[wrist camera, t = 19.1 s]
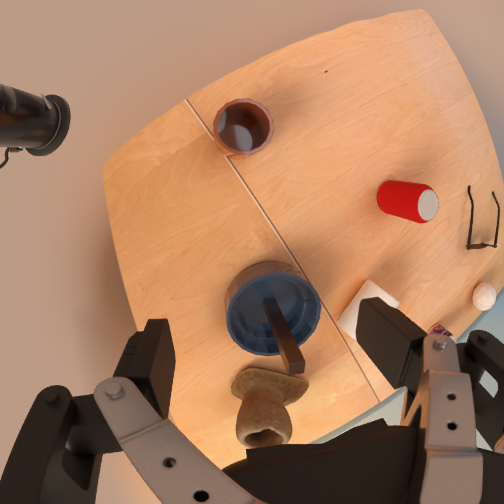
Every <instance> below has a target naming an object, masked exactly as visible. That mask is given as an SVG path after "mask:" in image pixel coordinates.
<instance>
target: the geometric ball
mask: <svg viewBox="0 0 504 504" xmlns="http://www.w3.org/2000/svg"><path fill="white" fill-rule="evenodd" d="M472 299H473V304H474V305H475V306H476V308H477V309H478V310H488V309H490V308H491V307H492V306H493V305H494V303H495V300H496V292H495V289H494V288H493V286H492V285H491V284H490V283H481V284H478V286H477V287H476V288H475V290H474V292H473V297H472Z"/></svg>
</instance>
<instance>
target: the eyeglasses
mask: <svg viewBox="0 0 504 504" xmlns="http://www.w3.org/2000/svg"><path fill="white" fill-rule="evenodd" d="M492 194H493V197H494V199H495V201H496V204H497V206H498V219H497V227H496V234H495V241H494V245H489V244H482V243H481V245H480V244H471V245H470V241H471V233H472V224H473V209H474V204H473V199H472V197H471V194H470V186H468V195H469V197H470V200H471V205H472V208H471V220H470V228H469V236H468V242H467V245H466V247H467V250H470V249H480V248H485V247H486V246H491V247H494V248H496V247H497V246H496V244H497V237H498V228H499V217H500V207H499V204H498V201H497V199H496V197H495V194H494V192H492Z"/></svg>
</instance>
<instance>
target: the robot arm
mask: <svg viewBox="0 0 504 504" xmlns="http://www.w3.org/2000/svg"><path fill="white" fill-rule="evenodd" d="M41 96H42V98H41V97H38V96H36V95H33V94H30V93H27V92H24V91H21V90H18V89H15V88H12V87H9V86H5V85H3V84H0V147H7V149H6V151H5V161H4V162H3V163H2V164H1V165H0V168H2V167H3V166H4V165H5V164H6V163H7V161H8V152H9V150H10V152H19V151H22V150H23V148H33V149H43V148H45V147H47V146H48V145H50V144H51V143H52V142H53V141H54V139H55V138H56V136H57V135H58V133H59V130H60V127H61V123H62V112H61V109H60V107H59V105H58V104H57V103H56V102H53V101H51V100H47V99H46V97H45V96H44V95H42V94H41ZM356 339H357V342H358V344H359V345H360V346H361V347H362V349H363V350H364V351H365V353H366V354H367V355H368V356H369V358H370V359H371V360H372V361H373V363H374V364H375V365H376V366H377V368H378V369H379V370H380V372H381V373H382V374H383V375H384V377H385V378H386V379H387V381H388V382H389V383H390V384H391V386H392V387H393V388H394V390H395V389H398V388H400V387H403V386H406V387H407V389H406V392H405V396H404V403H403V409H402V415H401V422H400V426H397V425H394V426H388V425H387V424H386V422H385V420H384V419H383V418H382V419H378V420H375V421H373V422H369V423H367V424H363V425H360V426H357V427H354V428H352V429H350V430H348V431H346V432H345V433H343V434H341V435H339V436H337V437H335V438H333V439H331V440H329V441H327V442H325V443H322V444H280V445H274V446H267V447H259V448H251V449H246V454H247V458H246V459H243V460H240V461H238V462H235V463H233V464H231V465H229V466H227V467H225V468H223V469H222V470H220V469H219V468H218V467H217V466H216V465H215V464H214V463H212V462H211V461H210V460H209V459H208V458H207V457H206V456H205V455H204V454H203V453H202V452H201V451H200V450H199V449H198V448H197V447H196V446H194V445H193V444H192V443H191V442H190V441H189V440H188V439H187V437H186V436H185V435H184V434H183V433H182V432H181V431H180V430H179V429H178V428H177V427H176V426H175V425H174V424H173V423H172V422H171V421H170V420H169V419H168V413H169V406H170V398H171V391H172V384H173V377H174V371H175V363H176V360H175V351H174V346H173V341H172V337H171V332H170V327H169V323H168V320H167V319H148V321H147V324H146V326H145V329H144V331H141V332H136V333H135V334H134V335H133V336H131V337H130V338H129V340H128V342H127V344H126V347H125V349H124V351H123V353H122V354H123V355H122V356H121V358H120V361H119V363H118V365H117V367H116V370H115V372H114V375H113V377H112V378H108V379H106V380H104V381H102V382H101V383H99V384H98V385H97V386H96V388H95V390H94V394H90V395H83V396H76V397H72V395H71V393H70V391H69V390H68V389H67V388H66V387H64V386H60V385H54V386H50V387H47V388H45V389H43V390H42V391H41V392H40V393H39V394H38V395H37V397H36V399H35V401H34V403H33V405H32V407H31V409H30V411H29V413H28V415H27V417H26V419H25V421H24V423H23V425H22V428H21V430H20V432H19V434H18V436H17V439H16V441H15V443H14V446H13V448H12V451H11V453H10V456H9V458H8V461H7V464H6V466H5V469H4V471H3V474H2V477H1V480H0V504H95V499H96V492H97V485H98V478H99V473H100V467H101V461H102V456H103V454H105V453H113V452H120V451H124V452H125V454H126V455H127V457H128V458H129V460H130V461H131V463H132V464H133V466H134V467H135V469H136V470H137V472H138V473H139V474H140V476H141V477H142V478H143V480H144V481H145V482H146V484H147V485H148V486H149V488H150V489H151V490H152V491H153V493H154V494H155V495H156V497H157V498H158V499H159V500H160V501H161V503H162V504H504V344H503V343H501V342H500V341H499V340H498V339H497V338H495V337H494V336H493V335H492V334H490V333H488V332H486V331H483V330H474V331H472V332H470V334H469V336H468V339H467V342H466V343H457V344H455V342H454V341H453V340H452V339H451V338H450V337H448V336H446V335H443V334H429V335H428V334H427V333H426V332H425V331H424V330H422V329H421V328H420V327H419V326H418V325H417V324H415V323H414V322H413V321H411V319H409V318H408V317H406V315H405V314H403V313H402V312H401V311H400V310H398V309H396V308H394V307H391V306H389V305H388V304H387V303H386V302H384V301H383V300H382V299H381V298H379V297H372V298H366V299H362V300H361V301H360V304H359V311H358V318H357V324H356ZM485 370H486V371H487V372H488V373H489V374H490V375H491V376H492V377H493V378H494V379H495V380H496V381H497V383H498V391H497V394H496V395H495V397H494V398H493V397H492V396H491V395H490V394H489V393H488V391H486V389H485V388H484V387H483V386H482V385H481V384H480V383H479V381H480V379H481V377H482V375H483V373H484V371H485ZM476 429H477V430H478V431H479V433H480V434H481V435H482V437H483V438H484V439H485V441H486V442H487V443H488V445H489V446H490V447H491V449H492V450H493V451H489V450H485V449H482V448H478V447H477V446H476Z"/></svg>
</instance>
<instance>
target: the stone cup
mask: <svg viewBox="0 0 504 504" xmlns="http://www.w3.org/2000/svg"><path fill="white" fill-rule="evenodd" d="M308 387H309V382H308V381H306V380H302V379H299V378H296V377H292V376H288V375H284V374H281V373H277V372H273V371H268V370H264V369H259V368H247V369H245V370H243V371H242V372H241V373H240V374H238V375H237V377H236V378H235V380H234V381H233V383H232V386H231V390H232V391H231V392H232V394H233V395H234V396H236V397H237V398H239V399H242V404H241V407H240V410H239V412H238V415H237V422H236V436H237V438H238V440H239V441H240V442H241V443H242V444H243V445H244V446H246V447H249V448H259V447H267V446H274V445H280V444H287V443H288V441H289V440H290V438H291V436H292V430H293V429H292V423H291V420H290V417H289V414H288V412H287V410H286V408H285V406H287V405H289V404H290V403H294V402H295V401H297V400H298V399H299V398H301V397H302V396H303V394H304V393H305V392H306V390H307V389H308Z"/></svg>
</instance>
